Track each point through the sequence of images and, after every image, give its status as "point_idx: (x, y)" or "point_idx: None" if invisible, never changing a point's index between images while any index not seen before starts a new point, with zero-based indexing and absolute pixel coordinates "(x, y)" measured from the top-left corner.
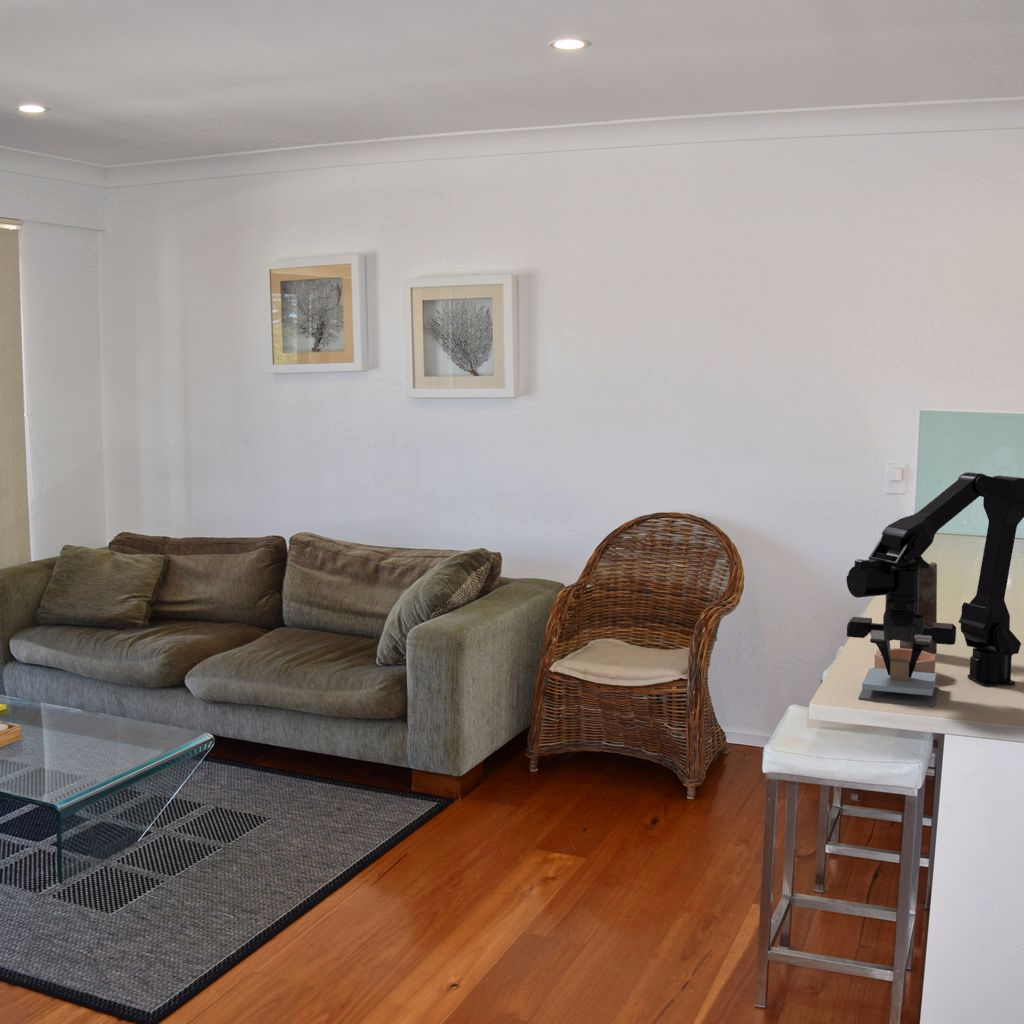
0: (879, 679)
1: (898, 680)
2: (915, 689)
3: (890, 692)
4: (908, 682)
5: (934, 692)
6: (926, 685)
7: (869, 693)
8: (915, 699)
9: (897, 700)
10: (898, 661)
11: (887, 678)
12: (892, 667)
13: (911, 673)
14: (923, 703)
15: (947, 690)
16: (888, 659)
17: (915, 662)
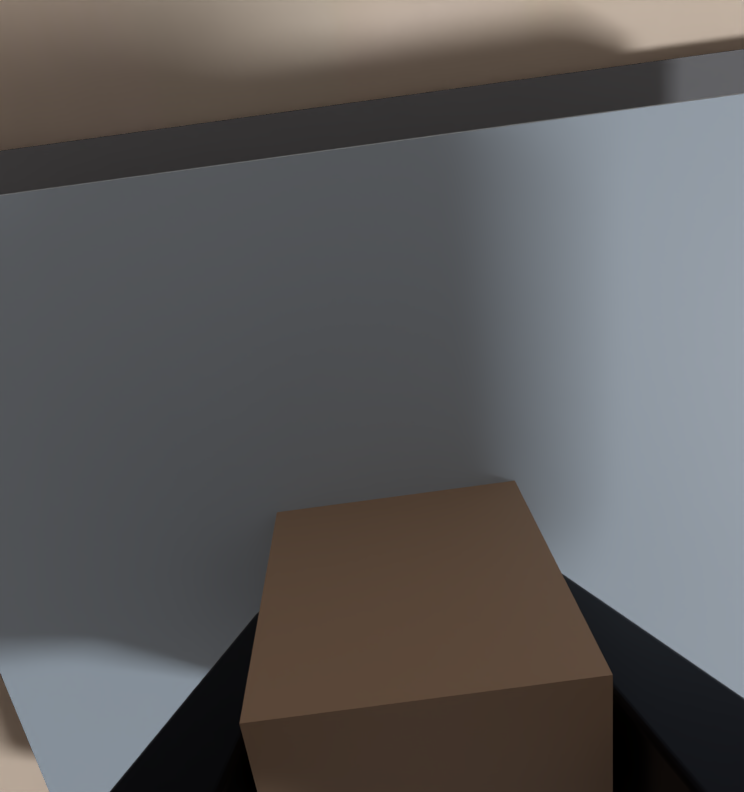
0: (650, 442)
1: (403, 495)
2: (73, 189)
3: None
4: (262, 474)
5: None
6: (1, 442)
7: None
8: None
9: (337, 143)
10: (457, 738)
11: (555, 535)
12: (533, 598)
13: (241, 638)
14: (28, 167)
15: None
16: (668, 733)
17: (120, 789)
